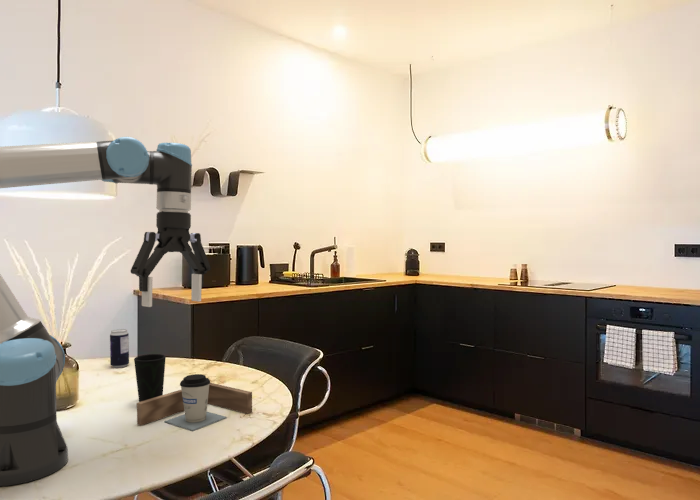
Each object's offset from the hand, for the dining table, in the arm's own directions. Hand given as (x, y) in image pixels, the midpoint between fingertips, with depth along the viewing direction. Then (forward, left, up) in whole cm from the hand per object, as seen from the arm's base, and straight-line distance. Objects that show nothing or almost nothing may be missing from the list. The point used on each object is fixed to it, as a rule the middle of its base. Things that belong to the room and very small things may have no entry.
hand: (172, 303), depth 122 cm
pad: (+4, -3, -28) cm, 28 cm away
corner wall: (+5, -2, -28) cm, 28 cm away
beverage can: (+24, +59, -28) cm, 70 cm away
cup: (+6, +17, -28) cm, 33 cm away
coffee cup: (+4, -3, -28) cm, 28 cm away
